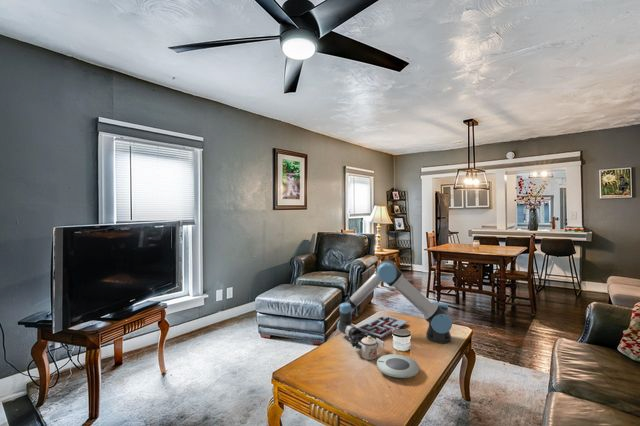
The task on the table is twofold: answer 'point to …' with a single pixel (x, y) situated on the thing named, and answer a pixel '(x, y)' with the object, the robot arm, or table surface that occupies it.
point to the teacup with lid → (369, 348)
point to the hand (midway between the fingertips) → (374, 346)
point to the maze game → (382, 326)
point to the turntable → (397, 366)
